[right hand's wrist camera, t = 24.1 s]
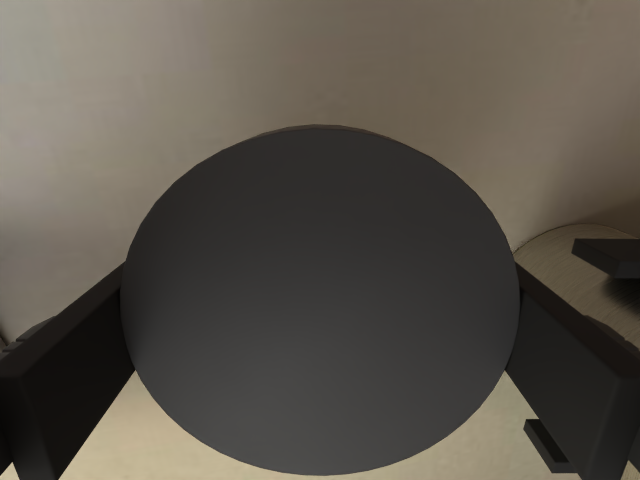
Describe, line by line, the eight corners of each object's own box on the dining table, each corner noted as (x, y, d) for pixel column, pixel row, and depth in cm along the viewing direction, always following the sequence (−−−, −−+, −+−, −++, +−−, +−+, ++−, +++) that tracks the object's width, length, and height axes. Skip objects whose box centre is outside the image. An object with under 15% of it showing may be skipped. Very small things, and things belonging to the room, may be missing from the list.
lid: (388, 40, 9) (405, 23, 8) (538, 343, 13) (576, 386, 11) (78, 248, 11) (30, 276, 10) (275, 465, 15) (269, 518, 13)
